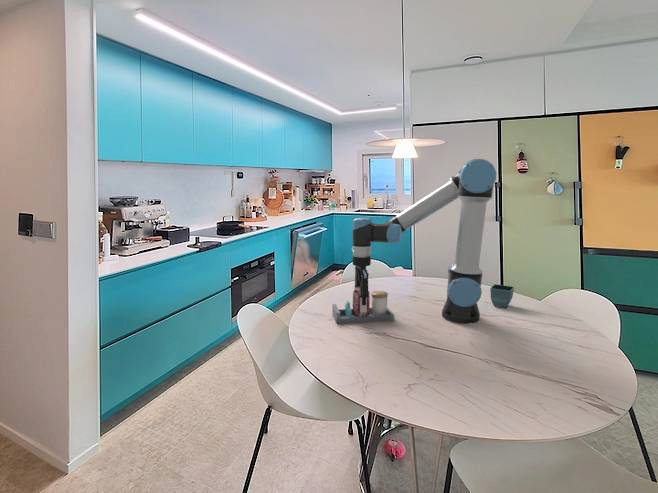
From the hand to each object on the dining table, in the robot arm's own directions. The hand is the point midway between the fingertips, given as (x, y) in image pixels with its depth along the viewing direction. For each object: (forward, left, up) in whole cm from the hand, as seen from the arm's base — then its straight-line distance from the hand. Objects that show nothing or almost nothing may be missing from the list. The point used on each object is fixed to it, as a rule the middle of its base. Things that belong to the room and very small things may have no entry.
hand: (361, 308), depth 155 cm
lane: (-1, 0, -4) cm, 4 cm away
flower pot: (-58, -35, -4) cm, 68 cm away
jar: (-7, -4, -4) cm, 9 cm away
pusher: (+5, +2, -4) cm, 7 cm away
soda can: (0, 0, -3) cm, 3 cm away
